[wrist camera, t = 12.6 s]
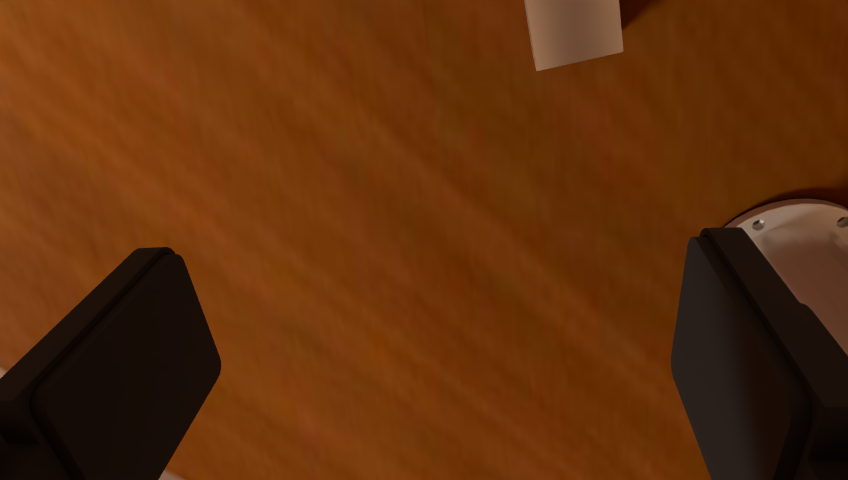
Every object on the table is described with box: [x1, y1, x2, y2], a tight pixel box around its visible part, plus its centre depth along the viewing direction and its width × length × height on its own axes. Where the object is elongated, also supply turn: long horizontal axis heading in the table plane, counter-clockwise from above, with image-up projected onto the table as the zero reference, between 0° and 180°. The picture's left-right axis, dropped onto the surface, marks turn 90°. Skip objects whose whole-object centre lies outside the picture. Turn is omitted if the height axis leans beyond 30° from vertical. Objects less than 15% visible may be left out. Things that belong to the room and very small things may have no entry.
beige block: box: [524, 0, 623, 71], centre depth 34 cm, size 5×5×4 cm
